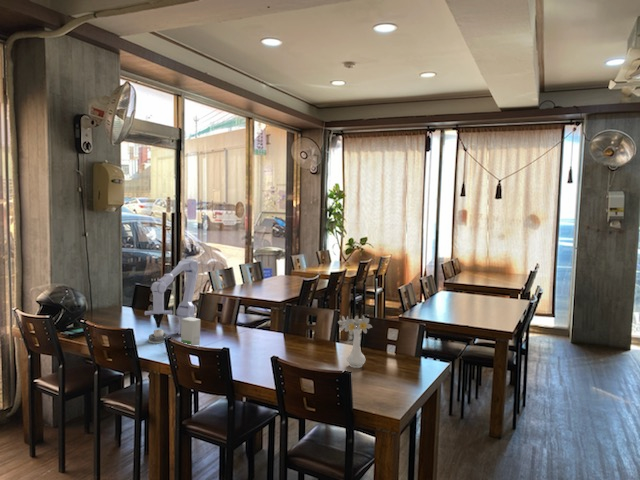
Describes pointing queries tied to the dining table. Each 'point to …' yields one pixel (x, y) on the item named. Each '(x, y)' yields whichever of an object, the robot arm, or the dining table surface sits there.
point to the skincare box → (190, 331)
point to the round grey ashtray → (157, 338)
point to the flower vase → (355, 339)
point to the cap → (158, 333)
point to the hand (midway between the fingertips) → (158, 327)
